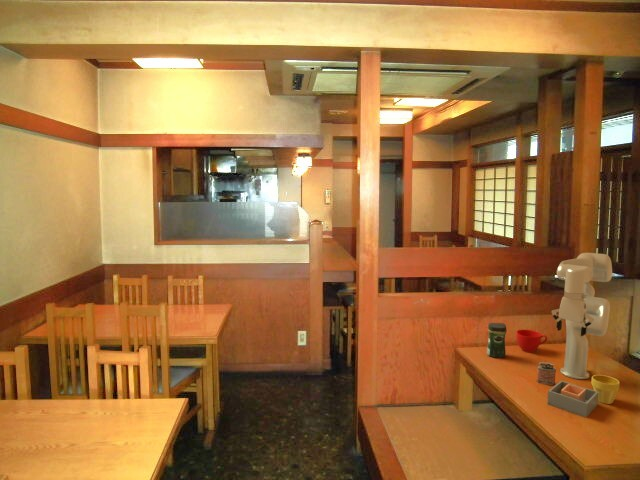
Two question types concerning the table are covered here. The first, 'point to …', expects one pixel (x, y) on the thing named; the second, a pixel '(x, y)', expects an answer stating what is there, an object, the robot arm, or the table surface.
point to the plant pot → (605, 388)
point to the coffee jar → (496, 340)
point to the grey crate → (572, 400)
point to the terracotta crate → (574, 392)
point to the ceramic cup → (529, 340)
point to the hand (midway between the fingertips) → (570, 332)
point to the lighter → (546, 373)
